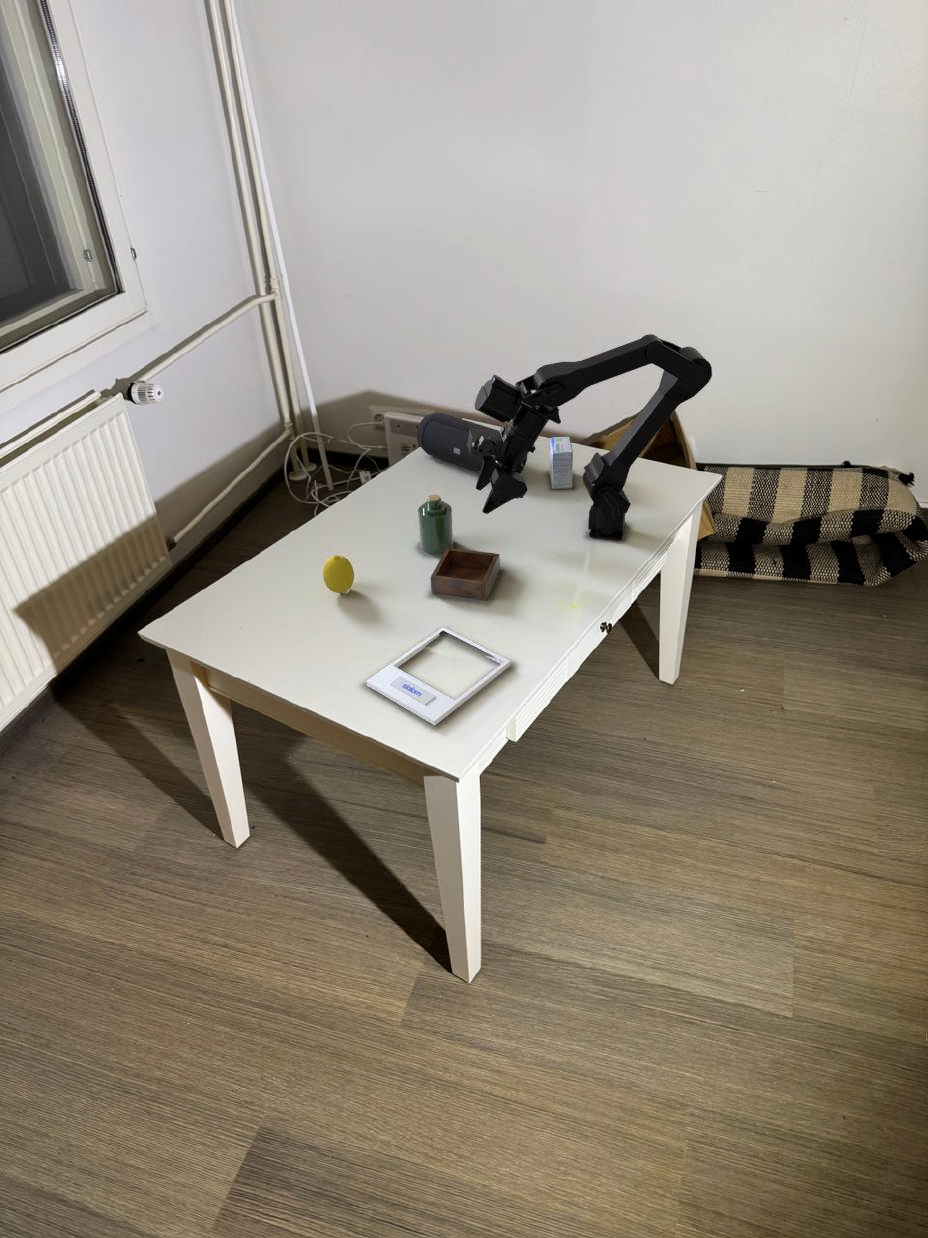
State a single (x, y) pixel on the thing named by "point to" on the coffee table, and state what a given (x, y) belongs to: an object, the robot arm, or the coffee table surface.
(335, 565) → the lemon
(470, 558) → the crate
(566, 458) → the medicine box
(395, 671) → the photo frame
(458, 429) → the portable speaker
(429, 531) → the bottle
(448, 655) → the coffee table surface
